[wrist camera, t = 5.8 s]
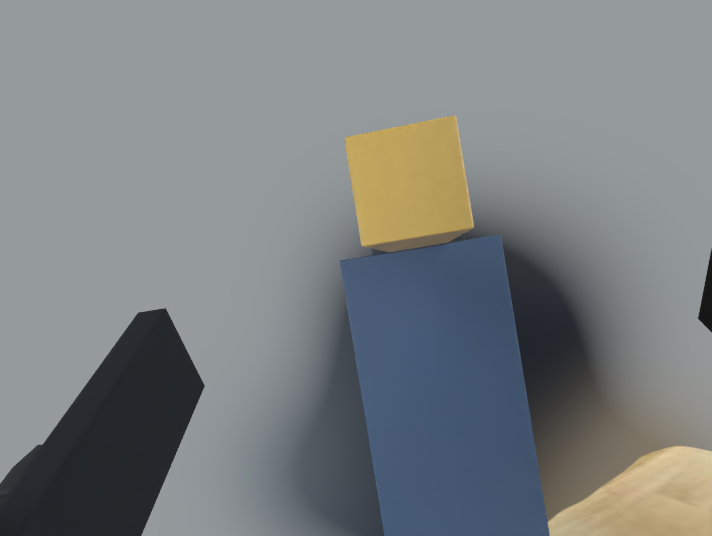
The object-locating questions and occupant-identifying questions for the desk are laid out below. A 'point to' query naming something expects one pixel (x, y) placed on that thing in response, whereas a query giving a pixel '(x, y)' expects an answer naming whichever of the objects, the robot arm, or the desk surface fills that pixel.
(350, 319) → the door post
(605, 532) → the desk surface
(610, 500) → the desk surface
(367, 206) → the bar
